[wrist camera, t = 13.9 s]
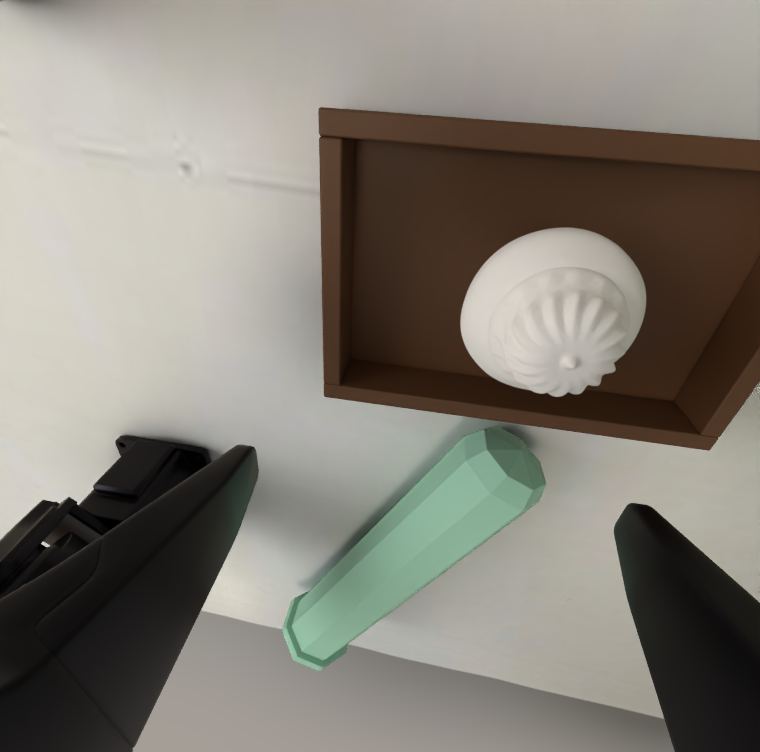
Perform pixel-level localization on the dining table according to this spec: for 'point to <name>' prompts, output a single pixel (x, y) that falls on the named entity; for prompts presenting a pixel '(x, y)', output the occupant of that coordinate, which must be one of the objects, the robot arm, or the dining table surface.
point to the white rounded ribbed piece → (553, 311)
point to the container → (416, 542)
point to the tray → (524, 216)
